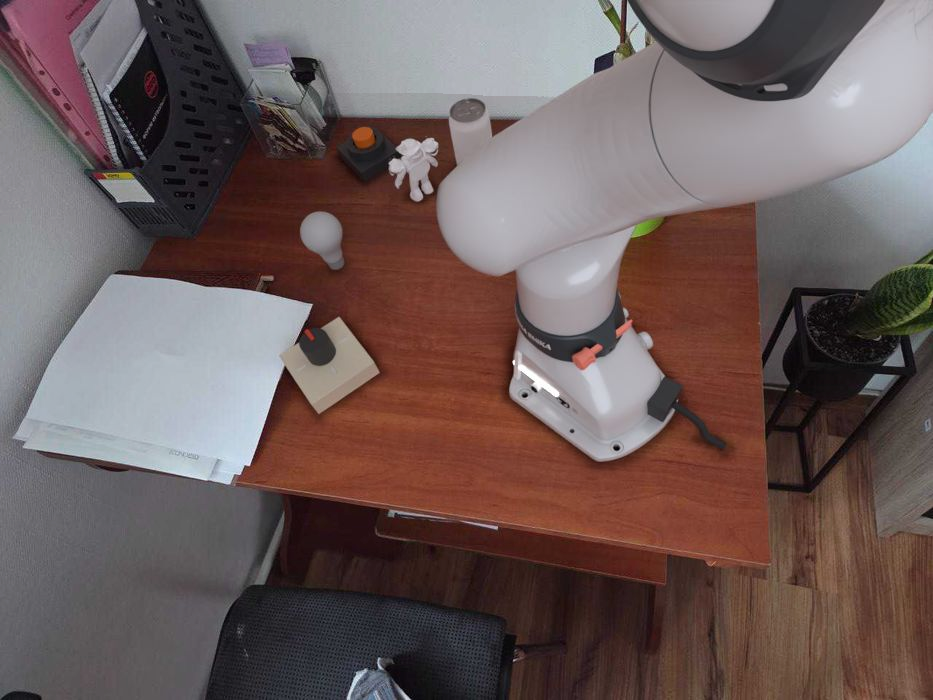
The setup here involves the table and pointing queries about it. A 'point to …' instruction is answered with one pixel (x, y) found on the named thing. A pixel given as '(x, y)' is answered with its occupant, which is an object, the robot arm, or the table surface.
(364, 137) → the power button
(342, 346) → the timer panel
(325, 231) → the lightbulb
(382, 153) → the black button housing
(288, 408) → the table surface
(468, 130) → the can
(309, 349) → the timer knob
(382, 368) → the table surface
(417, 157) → the white figurine
